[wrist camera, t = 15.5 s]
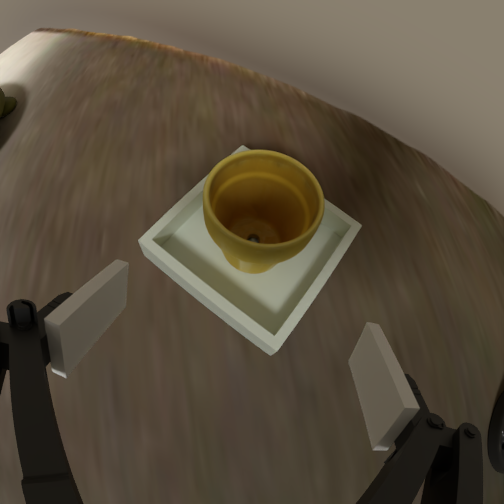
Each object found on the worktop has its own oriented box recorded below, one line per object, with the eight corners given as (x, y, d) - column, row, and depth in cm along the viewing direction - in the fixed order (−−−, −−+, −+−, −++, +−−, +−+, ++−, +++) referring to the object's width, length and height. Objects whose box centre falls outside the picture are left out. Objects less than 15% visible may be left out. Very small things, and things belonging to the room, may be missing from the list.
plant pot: (217, 196, 37) (221, 136, 28) (303, 217, 37) (329, 164, 28) (192, 276, 32) (186, 231, 24) (289, 300, 33) (319, 263, 24)
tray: (350, 239, 37) (362, 225, 34) (270, 355, 30) (277, 351, 27) (239, 163, 40) (242, 145, 37) (144, 255, 33) (138, 240, 30)
